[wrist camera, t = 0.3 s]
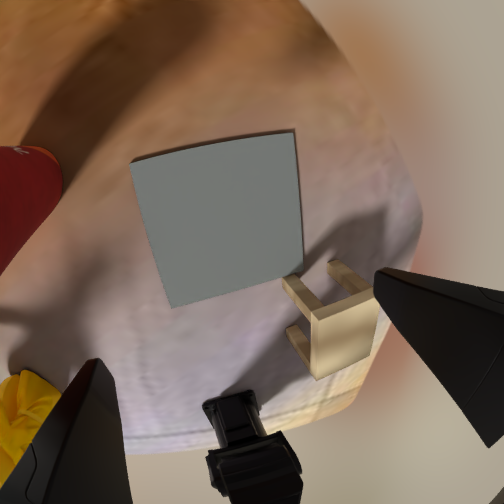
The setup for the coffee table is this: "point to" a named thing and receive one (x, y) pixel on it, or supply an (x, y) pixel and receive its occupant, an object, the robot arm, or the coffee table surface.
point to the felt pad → (221, 215)
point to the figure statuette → (22, 415)
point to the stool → (334, 322)
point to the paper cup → (25, 195)
